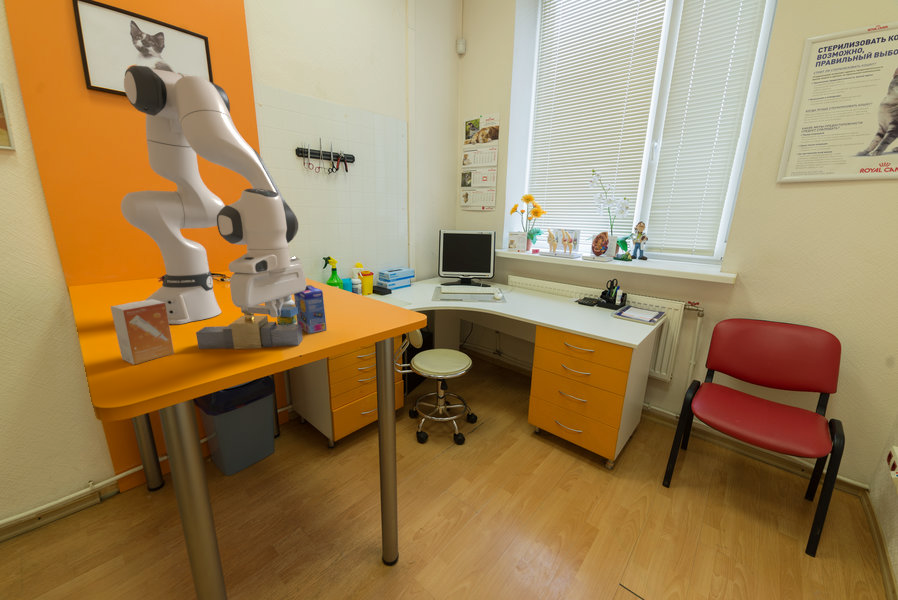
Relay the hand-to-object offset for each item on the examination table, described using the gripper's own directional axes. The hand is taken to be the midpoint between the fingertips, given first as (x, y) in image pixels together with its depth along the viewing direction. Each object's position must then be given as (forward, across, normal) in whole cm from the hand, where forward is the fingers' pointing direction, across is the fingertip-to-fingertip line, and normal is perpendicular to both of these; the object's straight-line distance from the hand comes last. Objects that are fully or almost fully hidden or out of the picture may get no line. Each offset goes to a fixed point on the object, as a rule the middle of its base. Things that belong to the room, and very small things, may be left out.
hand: (276, 316), depth 87 cm
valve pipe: (+9, -1, -10) cm, 13 cm away
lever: (0, -2, -4) cm, 5 cm away
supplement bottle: (+9, -18, -13) cm, 24 cm away
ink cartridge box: (+9, -17, -4) cm, 20 cm away
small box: (+9, +13, -26) cm, 31 cm away
